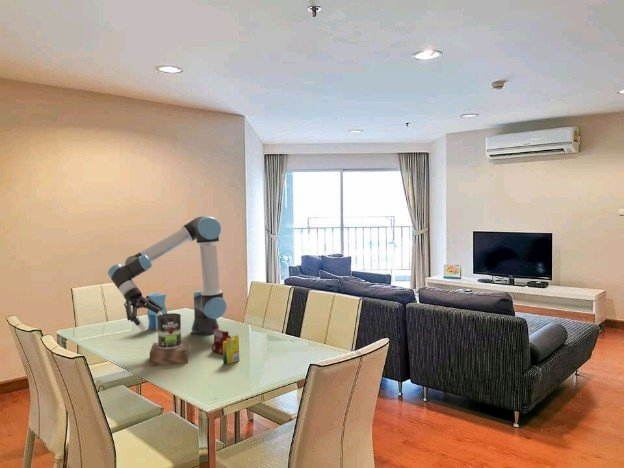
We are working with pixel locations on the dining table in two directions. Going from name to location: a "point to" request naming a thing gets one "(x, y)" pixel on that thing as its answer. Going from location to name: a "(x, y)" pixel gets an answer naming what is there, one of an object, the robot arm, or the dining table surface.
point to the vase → (152, 315)
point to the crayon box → (231, 350)
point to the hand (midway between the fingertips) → (155, 326)
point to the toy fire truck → (219, 340)
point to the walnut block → (169, 355)
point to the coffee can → (169, 331)
